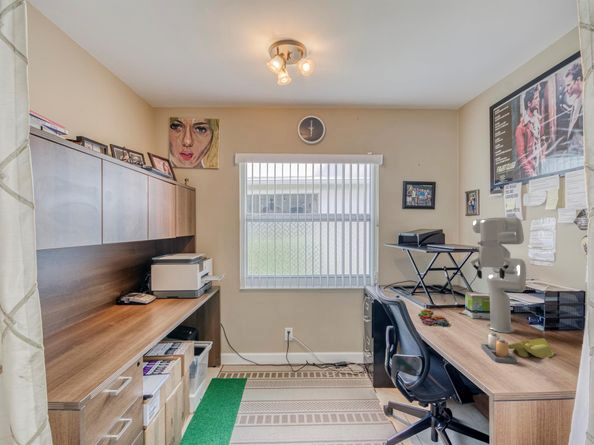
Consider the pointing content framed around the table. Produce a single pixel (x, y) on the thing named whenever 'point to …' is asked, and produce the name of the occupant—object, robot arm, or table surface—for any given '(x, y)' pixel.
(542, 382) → the table surface
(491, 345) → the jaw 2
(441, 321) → the gear puzzle
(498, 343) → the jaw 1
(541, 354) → the plastic component
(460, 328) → the table surface
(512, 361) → the housing
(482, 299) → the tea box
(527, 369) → the table surface
